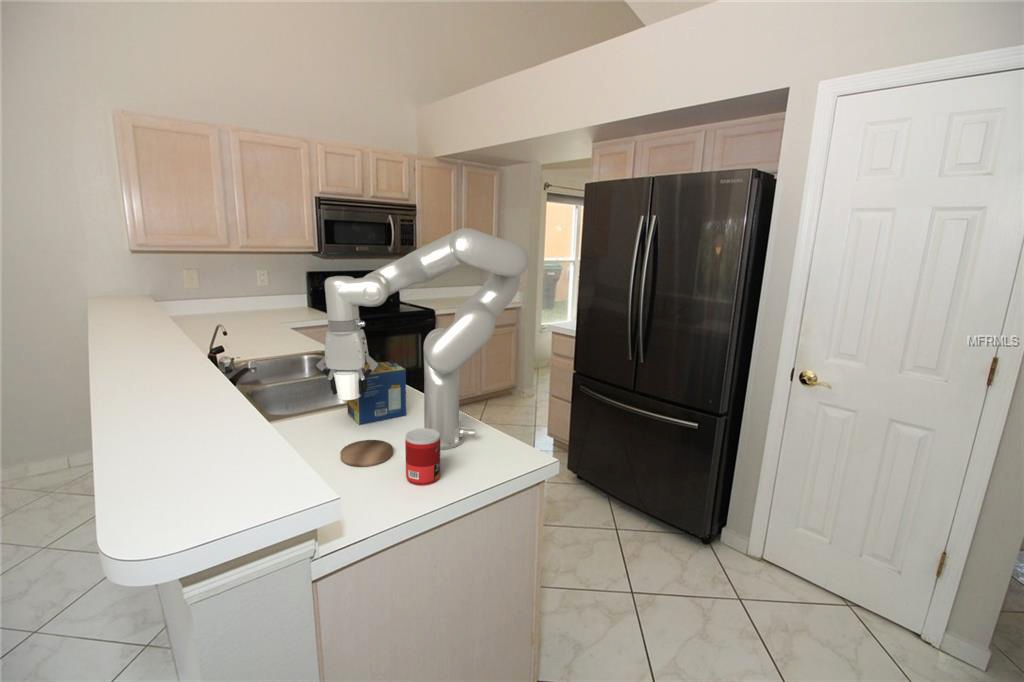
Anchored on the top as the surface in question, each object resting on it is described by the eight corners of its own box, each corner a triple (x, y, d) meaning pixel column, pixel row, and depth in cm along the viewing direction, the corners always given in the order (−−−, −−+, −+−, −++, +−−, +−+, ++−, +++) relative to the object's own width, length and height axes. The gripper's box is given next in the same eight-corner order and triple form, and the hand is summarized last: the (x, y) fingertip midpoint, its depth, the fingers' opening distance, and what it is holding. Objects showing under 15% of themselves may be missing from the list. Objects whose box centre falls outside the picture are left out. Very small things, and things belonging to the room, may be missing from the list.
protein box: (346, 414, 149) (344, 366, 145) (393, 405, 158) (392, 360, 154) (358, 426, 140) (356, 375, 137) (407, 415, 150) (406, 368, 146)
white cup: (337, 402, 120) (334, 376, 119) (334, 394, 126) (332, 368, 125) (365, 398, 123) (363, 372, 122) (361, 390, 129) (359, 365, 128)
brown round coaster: (397, 444, 130) (397, 440, 129) (386, 467, 117) (386, 463, 117) (349, 443, 129) (349, 439, 129) (333, 466, 116) (333, 462, 116)
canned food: (442, 484, 110) (442, 440, 108) (407, 488, 108) (406, 443, 106) (437, 468, 118) (437, 426, 115) (404, 471, 115) (404, 429, 113)
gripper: (382, 322, 124) (386, 388, 128) (316, 322, 124) (322, 388, 128) (374, 329, 117) (378, 398, 121) (303, 328, 117) (310, 397, 121)
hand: (349, 392), depth 125 cm, fingers closed on white cup, 6 cm apart
